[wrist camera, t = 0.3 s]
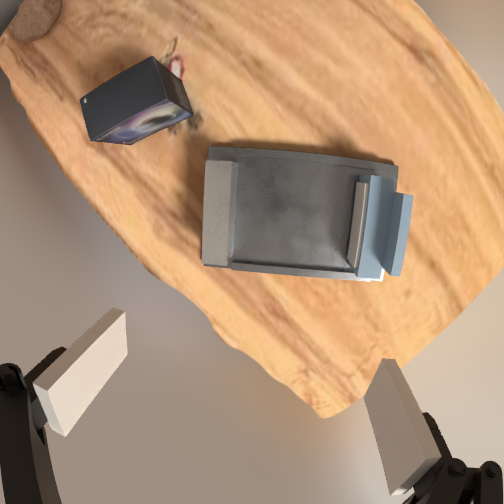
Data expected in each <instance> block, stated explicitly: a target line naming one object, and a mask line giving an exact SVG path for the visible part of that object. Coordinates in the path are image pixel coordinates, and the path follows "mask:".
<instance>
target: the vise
mask: <svg viewBox="0 0 504 504" xmlns="http://www.w3.org/2000/svg"><path fill="white" fill-rule="evenodd" d="M398 167H399V166H395V165H390V164H384V163H379V162H373V161H367V160H360V159H354V158H347V157H340V156H332V155H324V154H315V153H306V152H296V151H285V150H273V149H258V148H240V147H211V146H209V148H208V160H206V164H205V182H204V203H203V230H202V263H203V264H204V266H210V267H220V268H231V270H238V271H249V272H260V273H271V274H282V275H294V276H305V277H317V278H330V279H343V280H356V281H369V282H371V280H372V281H382V280H383V275H384V270H385V269H384V268H383V267H382V272H381V277H380V279H372V278H358V277H357V276H356V275H355V273H354V272H353V271H352V269H351V268H350V266H349V265H348V264H349V260H348V259H347V255H348V249H349V242H350V235H351V227H352V219H353V211H354V202H355V192H356V182H359V175H373V176H379V177H385V178H391V179H395V182H394V192H396V189H397V179H398Z"/></svg>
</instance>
